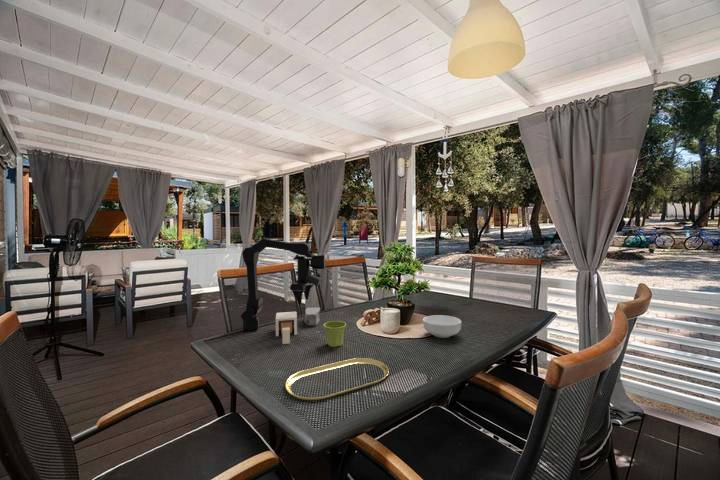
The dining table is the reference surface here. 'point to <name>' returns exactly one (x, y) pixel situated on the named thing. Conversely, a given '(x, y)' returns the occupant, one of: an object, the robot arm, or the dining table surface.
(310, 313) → the decorative stone
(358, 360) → the serving platter
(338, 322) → the plant pot
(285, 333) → the cream and brown mallet
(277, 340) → the dining table surface
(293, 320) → the white open box
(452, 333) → the cereal bowl
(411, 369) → the dining table surface
